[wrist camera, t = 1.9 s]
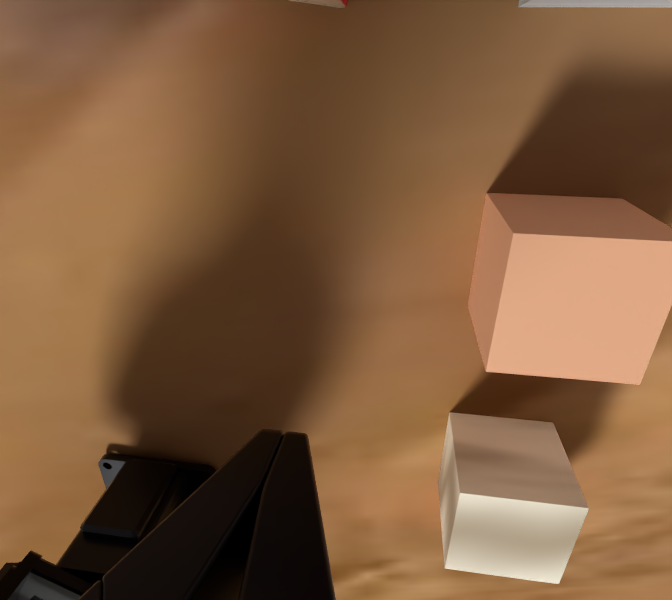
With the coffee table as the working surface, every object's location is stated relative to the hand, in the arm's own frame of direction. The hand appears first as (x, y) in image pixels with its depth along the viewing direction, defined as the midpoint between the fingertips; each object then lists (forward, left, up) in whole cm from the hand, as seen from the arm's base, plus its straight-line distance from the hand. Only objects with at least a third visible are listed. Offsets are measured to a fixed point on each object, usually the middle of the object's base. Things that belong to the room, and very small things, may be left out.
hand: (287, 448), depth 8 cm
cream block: (-10, -7, -11) cm, 16 cm away
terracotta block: (0, -7, -11) cm, 13 cm away
